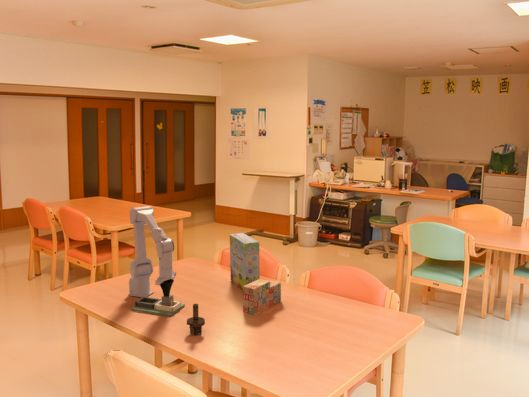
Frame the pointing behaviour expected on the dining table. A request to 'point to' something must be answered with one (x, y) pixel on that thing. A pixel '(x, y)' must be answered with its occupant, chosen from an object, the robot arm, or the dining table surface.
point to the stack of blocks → (260, 295)
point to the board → (156, 306)
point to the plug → (168, 300)
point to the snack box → (244, 259)
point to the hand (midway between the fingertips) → (166, 295)
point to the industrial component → (195, 322)
